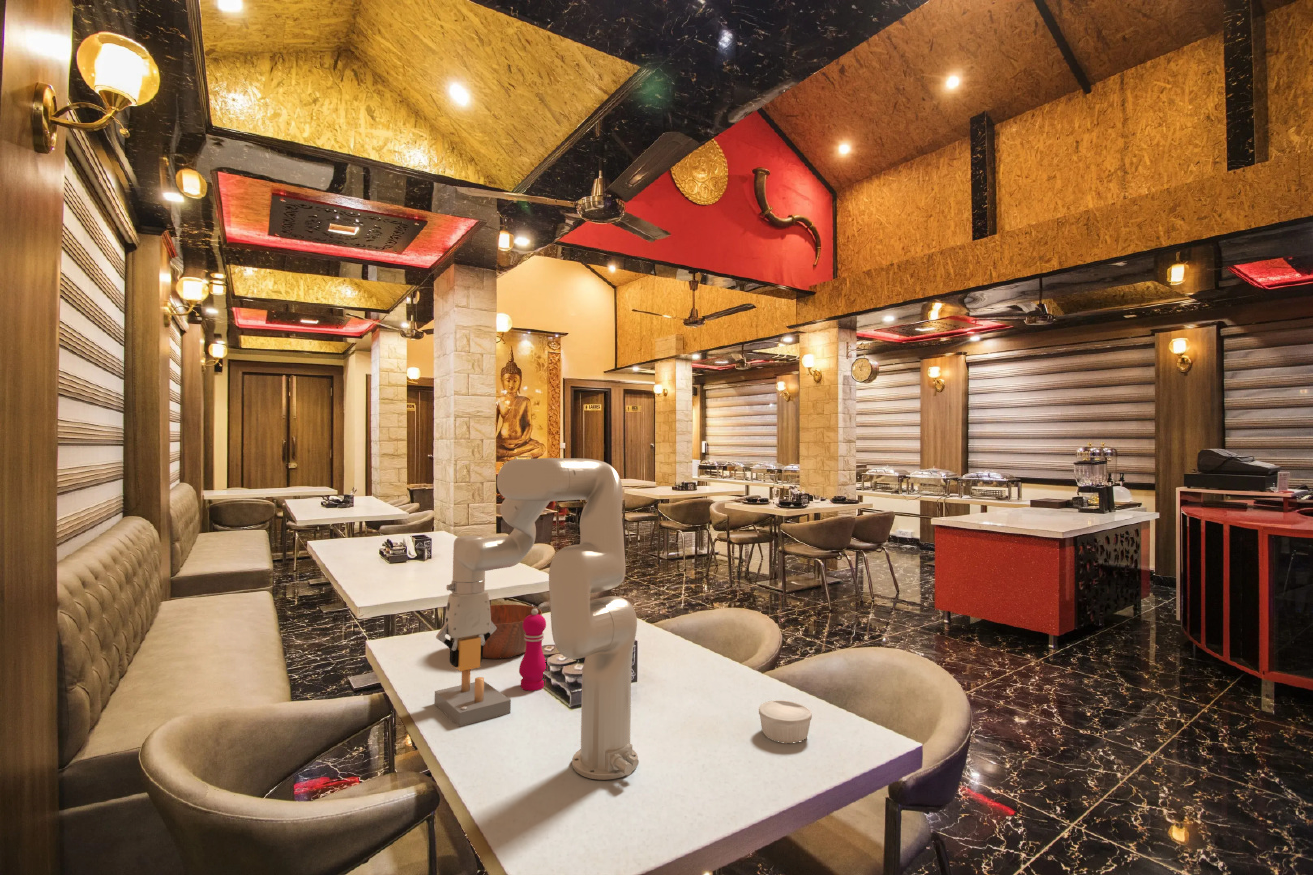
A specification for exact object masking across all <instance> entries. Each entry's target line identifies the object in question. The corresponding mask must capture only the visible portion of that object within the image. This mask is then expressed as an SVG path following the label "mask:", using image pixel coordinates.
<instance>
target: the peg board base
mask: <svg viewBox="0 0 1313 875" xmlns="http://www.w3.org/2000/svg"><path fill="white" fill-rule="evenodd" d="M471 670H472V669H469V670H464V671H461V684H459V685H455V686H452V687H447V688H442V689H437V690H434V705H435V706H436V707H437V706H438V707H437V708H438V709H439V708H440V709H439V710H440V711H441V712H442V713H444V715H446V716H447V717H448V718H449V719H450V720H451V721H453V723H455V724H456V726H458V727H459V728H460V727H463V726H464V727H465V726H468V725H471V724H476V723H479V722H483V721H486V720H490V719H495V718H498V717H501V716H505V715H508V714H511V708H512V707H511V703H512V701H511V698H509V697H508V696H506V695H505V694H503V693H502V692H500V691H499V690H497V689H495V687H493V686H492V685H490V684H489V683H487V682H486V681H485V677H483V676H478V677H475V678H474V682H471Z"/></svg>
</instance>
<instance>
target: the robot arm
mask: <svg viewBox="0 0 1313 875" xmlns="http://www.w3.org/2000/svg"><path fill="white" fill-rule="evenodd" d="M496 485H497V486H496V488H497V489H498V492H499V494H500V495H501V496H502V497H503V498H504V500H502V503H501V504H500V508H499V509H500V510H499V511H500V515H501V517H502V519H503V520H504V521H505V523H506V524H507V525H508V526H510V527H512V528H513V530H512V531H511V532H510V533H509V534H508V535H503V536H493V537H485V538H484V537H483V536H481V535H462V536H458V537H456V538H455V540H454V541H453V550H452V551H453V552H452V554H453V558H452V580H451V583H450V584H447V585H446V587H445V588H446V591H447V592H448V591H450V592H451V593H449V596H448V598H447V605H446V607H445V609H446V610H445V616H444V624H443V626H442V627H441V628H440V629H439V631H438V633H437V634H436V636H435V639H437V640H438V641H440V643H443V644H444V645H445V646H446V647H448V648H449V663H450V665H451V666H452V665H453V666H454V668H455V667H458V661H459V650H457V646H458V643H459V640H460V638H465V637H471V636H479V637H481V656H480V663H482V657H483V645H485V642H486V640H487V639H488V638H489V637H490V635H491V634H492V633H493V632H494V631H495V630H496V629H497V627H496V626H495V625H494V624H493V622H492V621H491V613H490V606H491V603H490V596H489V592H488V591H486V590H485V589H486V588H485V585H486V571H493V570H499V569H505V568H506V569H507V568H512V567H514V566H516V565H518V564H520V563H521V562H522V561H523V560H524V558H526V556H527V555H528V554H529V552H530V551H531V550H532V548H533V546H534V544H535V541H536V537H537V528H536V523H535V522H537V520H538V519H539V517H540V516H541V514H543V512H544V511H545V509H546V507H547V506H548V505H550V504H549V503H551V502H558V501H559V502H561V501H562V502H563V501H575V500H576V501H579V500H584V501H586V503H585V505H584V507H583V509H582V511H581V514H580V520H579V532H580V537H579V538H580V542H579V544H578V543H577V544H573V545H572V544H571V545H567V546H564V547H563V548H561V549H559V550H557V552H556V553H555V555H554V556H553V557H552V560H551V562H550V566H549V570H548V588H549V589H548V590H549V591H548V592H549V608H550V609H549V610H550V627H551V634H552V638H553V643H554V646H555V648H556V649H557V651H558V653H559V654H560V655H561V656H563V657H564V658H567V659H569V660H578V659H579V660H580V659H582V658H584V662H583V664H582V665H583V666H582V673H581V674H582V675H581V710H580V711H581V712H580V713H581V717H580V718H581V719H580V720H581V721H580V722H581V723H580V749H579V750H578V751H575V753H574V754H573V755H572V756H573V757H572V758H571V759H572V761H571V762H572V763H571V764H572V768H573V770H574V771H575V772H576V773H577V774H579V775H580V776H581V777H584V778H587V779H591V780H598V781H599V780H600V781H607V780H608V781H609V780H615V779H620V778H623V777H625V776H630V775H631V774H632V772H633V771H634V770H636V768H637V767H638V766H639V763H640V761H639V756H638V753H637V752H636V751H635V750H634V749H633V744H632V743H631V712H632V711H631V710H632V709H631V708H632V706H631V705H632V667H633V666H632V662H633V652H634V646H635V641H636V636H637V630H638V629H637V628H638V620H637V619H638V618H637V613H636V611H635V608H634V606H633V604H632V603H631V602H630V601H629V600H627V599H625V598H624V597H621V596H615V595H612V596H603V597H599V598H595V599H591V594H595V593H600V592H605V591H608V590H611V589H615V588H617V587H618V586H620V585H621V584H622V583H623V582H624V579H625V577H626V554H625V541H624V540H625V539H624V528H623V500H624V498H623V493H624V492H623V484H622V479H621V478H620V475H619V473H618V472H617V470H616V469H615V468H614V467H613V466H612V465H611V464H609V463H607V462H605V461H602V460H598V459H592V458H578V457H577V458H575V457H574V458H573V457H572V458H562V457H561V458H560V457H542V458H524V459H523V458H514V459H511V460H508V461H507V462H505V464H503V465H502V466H501V468H500V469H499V471H498V474H497V477H496ZM446 635H447V636H449V639H448V638H447V637H446ZM453 666H452V667H453Z"/></svg>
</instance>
